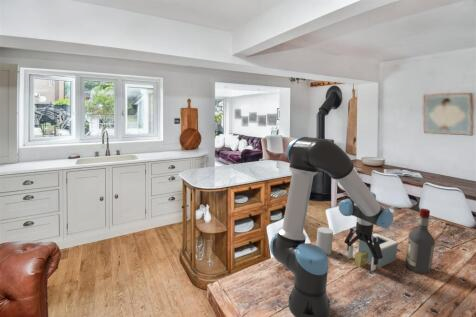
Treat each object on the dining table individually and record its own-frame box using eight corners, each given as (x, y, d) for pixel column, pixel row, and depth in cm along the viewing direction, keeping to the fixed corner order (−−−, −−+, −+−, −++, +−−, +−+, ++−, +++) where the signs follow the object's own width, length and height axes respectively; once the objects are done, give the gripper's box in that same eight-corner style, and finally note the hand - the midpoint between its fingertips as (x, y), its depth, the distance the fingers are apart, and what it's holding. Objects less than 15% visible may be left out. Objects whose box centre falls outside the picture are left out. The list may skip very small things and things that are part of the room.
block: (359, 267, 129) (361, 255, 128) (354, 264, 131) (355, 253, 130) (367, 264, 132) (368, 252, 131) (361, 261, 134) (363, 250, 133)
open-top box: (379, 267, 129) (381, 248, 127) (358, 256, 139) (359, 238, 137) (395, 260, 136) (397, 242, 134) (373, 250, 146) (375, 233, 144)
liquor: (424, 265, 132) (432, 207, 127) (432, 275, 123) (441, 214, 118) (403, 262, 134) (410, 205, 129) (410, 271, 125) (417, 212, 121)
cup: (332, 255, 139) (334, 234, 138) (316, 253, 141) (318, 232, 139) (330, 248, 147) (331, 227, 145) (315, 246, 149) (316, 226, 147)
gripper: (394, 230, 120) (389, 273, 123) (348, 213, 140) (345, 251, 144) (384, 233, 116) (380, 278, 119) (339, 216, 137) (336, 254, 140)
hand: (361, 263), depth 131 cm, fingers open, 12 cm apart
